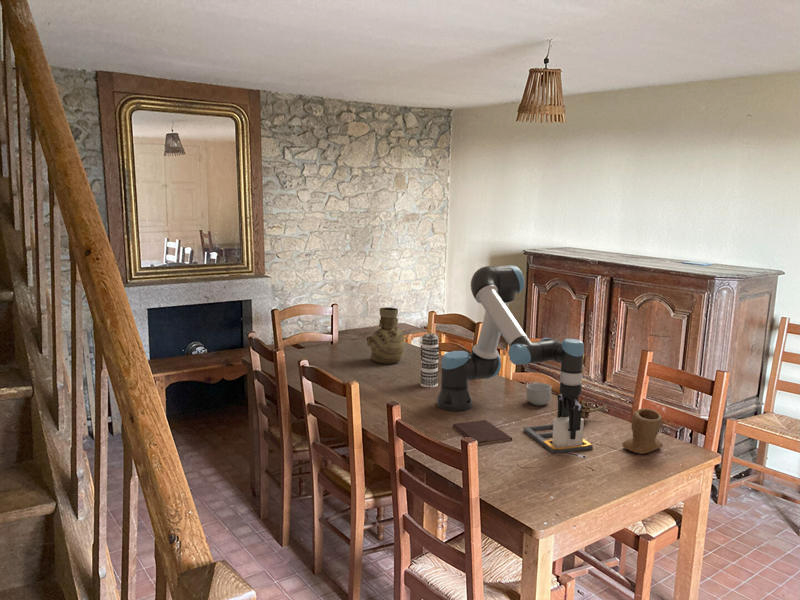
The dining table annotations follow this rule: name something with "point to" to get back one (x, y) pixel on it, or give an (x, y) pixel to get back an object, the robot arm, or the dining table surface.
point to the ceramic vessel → (387, 338)
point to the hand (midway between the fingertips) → (567, 444)
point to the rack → (548, 443)
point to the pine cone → (586, 409)
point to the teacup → (538, 393)
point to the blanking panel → (565, 432)
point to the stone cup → (644, 432)
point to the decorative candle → (429, 360)
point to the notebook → (482, 432)
